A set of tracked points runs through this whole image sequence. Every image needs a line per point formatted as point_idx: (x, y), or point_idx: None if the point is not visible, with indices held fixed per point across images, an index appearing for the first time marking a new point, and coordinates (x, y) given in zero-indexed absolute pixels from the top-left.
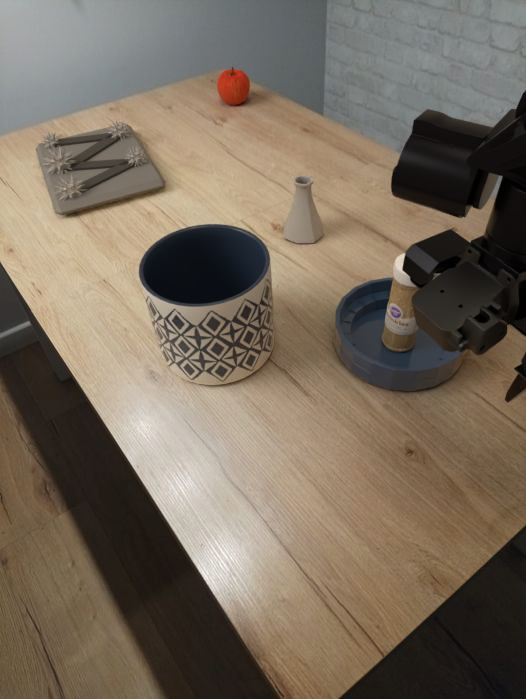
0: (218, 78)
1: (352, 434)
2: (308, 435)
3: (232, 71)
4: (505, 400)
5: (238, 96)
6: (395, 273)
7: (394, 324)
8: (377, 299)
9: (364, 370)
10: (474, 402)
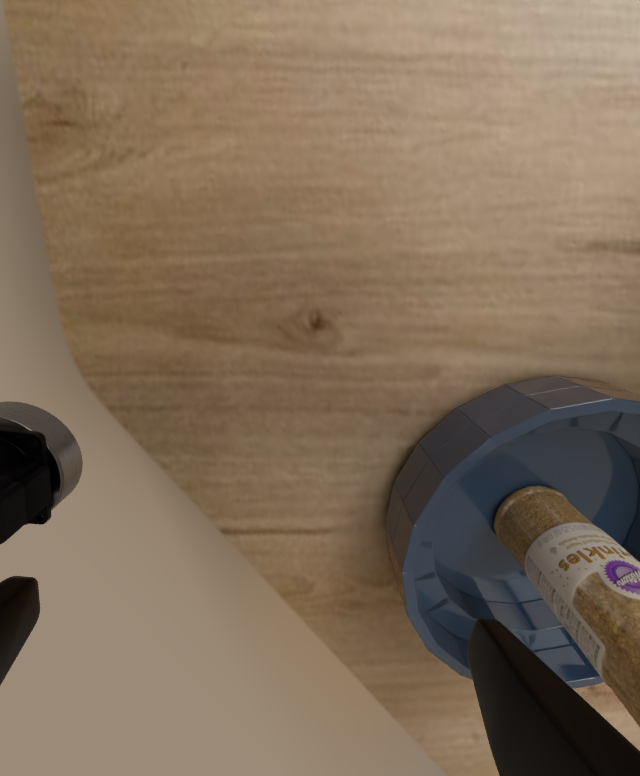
0: None
1: (435, 252)
2: (511, 157)
3: None
4: (19, 579)
5: None
6: None
7: (588, 543)
8: None
9: (540, 391)
10: (314, 514)
